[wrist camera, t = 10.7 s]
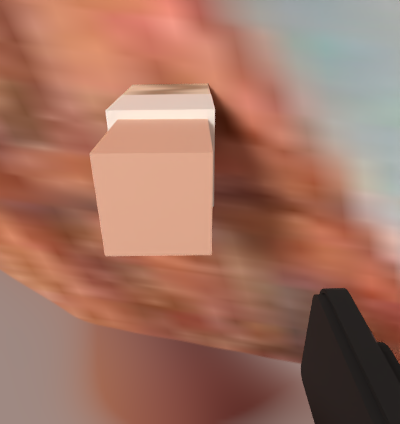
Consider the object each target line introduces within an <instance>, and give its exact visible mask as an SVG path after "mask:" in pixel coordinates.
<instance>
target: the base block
mask: <svg viewBox="0 0 400 424" xmlns="http://www.w3.org/2000/svg"><path fill="white" fill-rule="evenodd" d="M159 94H210V90H209V86H208V84H148V85H132V86H131V87H130V88H129V89H128V90H127V91H126V92H125V93H124V94H123V95H159Z"/></svg>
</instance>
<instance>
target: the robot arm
mask: <svg viewBox="0 0 400 424" xmlns="http://www.w3.org/2000/svg"><path fill="white" fill-rule="evenodd" d="M301 376H302V381H303V385H304V388H305V391H306V395H307V398H308V402H309V405H310V408H311V412H312V416H313V419H314V422H315V424H400V365H399V363H398V361H397V359H396V358H395V356H394V354H393V353H392V351H391V350H390V348H389V347H388V346H387V345H386V344H385V343H383V342H376V340H375V338H374V336H373V335H372V333H371V331H370V329H369V327H368V326H367V324H366V322H365V320H364V318H363V317H362V315H361V313H360V311H359V310H358V308H357V306H356V304H355V302H354V301H353V299H352V297H351V295H350V294H349V292H348V291H347V289H345V288H332V289H322V290H321V291H320V294H319V295H314V296H313V300H312V306H311V311H310V317H309V323H308V329H307V335H306V340H305V346H304V352H303V358H302V364H301Z"/></svg>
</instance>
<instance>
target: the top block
mask: <svg viewBox="0 0 400 424" xmlns="http://www.w3.org/2000/svg"><path fill="white" fill-rule="evenodd" d="M90 160H91V167H92V173H93V180H94V186H95V193H96V199H97V206H98V213H99V219H100V226H101V232H102V239H103V246H104V252H105V256H162V255H212V189H213V149H212V143H211V136H210V130H209V124H208V119H117V121H116V122H115V123H114V124H113V126H112V127H111V128H110V129H109V130H108V132H107V133H106V134H105V135H104V137H103V138H102V139H101V140H100V141H99V143H98V144H97V145H96V146H95V148H94V149H93V150H92V151H91V152H90Z"/></svg>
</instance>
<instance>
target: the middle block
mask: <svg viewBox="0 0 400 424" xmlns="http://www.w3.org/2000/svg"><path fill="white" fill-rule="evenodd" d="M105 111H106V118H107V126H108V130H109V129H110V128H111V127H112V126H113V124H114V123H115V122H116V121H117V119H208V124H209V130H210V136H211V143H212V149H213V189H212V207H214V153H215V107H214V104H213V100H212V96H211V94H159V95H121V96H120V97H119V98H118V99H117V100H116V101H115V102H114V103H113V104H112V105H111V106H110V107H109V108H108V109H107V110H105Z"/></svg>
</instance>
